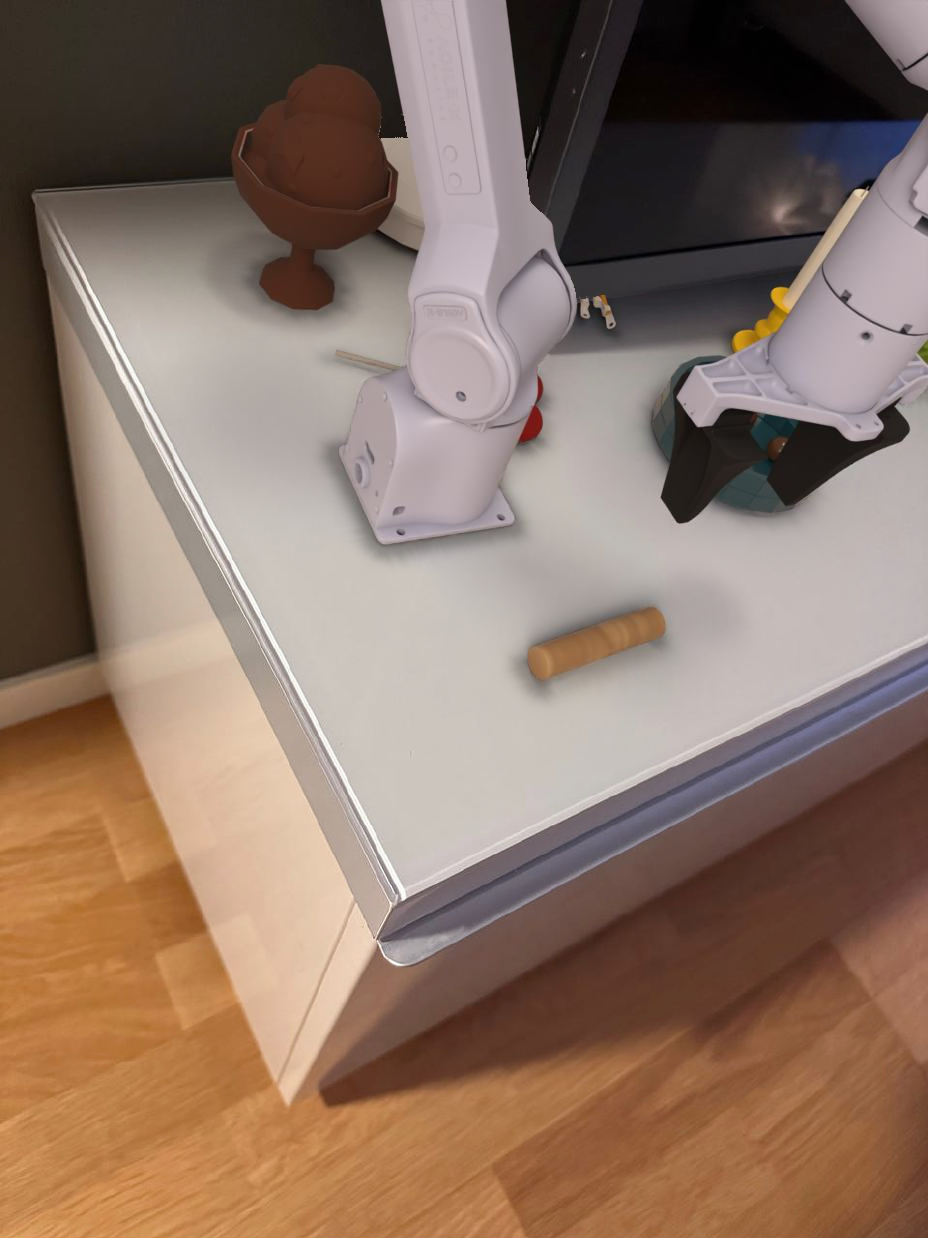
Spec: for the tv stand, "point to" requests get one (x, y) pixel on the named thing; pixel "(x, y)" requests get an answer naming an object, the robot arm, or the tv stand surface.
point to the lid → (404, 197)
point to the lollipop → (531, 426)
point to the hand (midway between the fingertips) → (728, 500)
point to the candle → (799, 277)
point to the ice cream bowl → (315, 177)
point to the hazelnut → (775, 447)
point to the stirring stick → (595, 642)
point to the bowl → (751, 483)
